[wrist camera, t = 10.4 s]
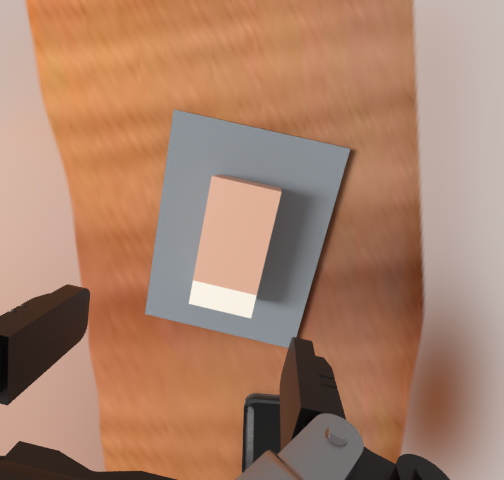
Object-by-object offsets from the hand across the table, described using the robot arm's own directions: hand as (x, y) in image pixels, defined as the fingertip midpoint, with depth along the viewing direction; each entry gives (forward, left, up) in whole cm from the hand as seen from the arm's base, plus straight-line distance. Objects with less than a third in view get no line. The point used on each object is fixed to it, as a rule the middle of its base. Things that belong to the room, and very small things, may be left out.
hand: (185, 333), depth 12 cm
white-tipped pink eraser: (0, 0, -15) cm, 15 cm away
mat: (0, 0, -15) cm, 15 cm away
